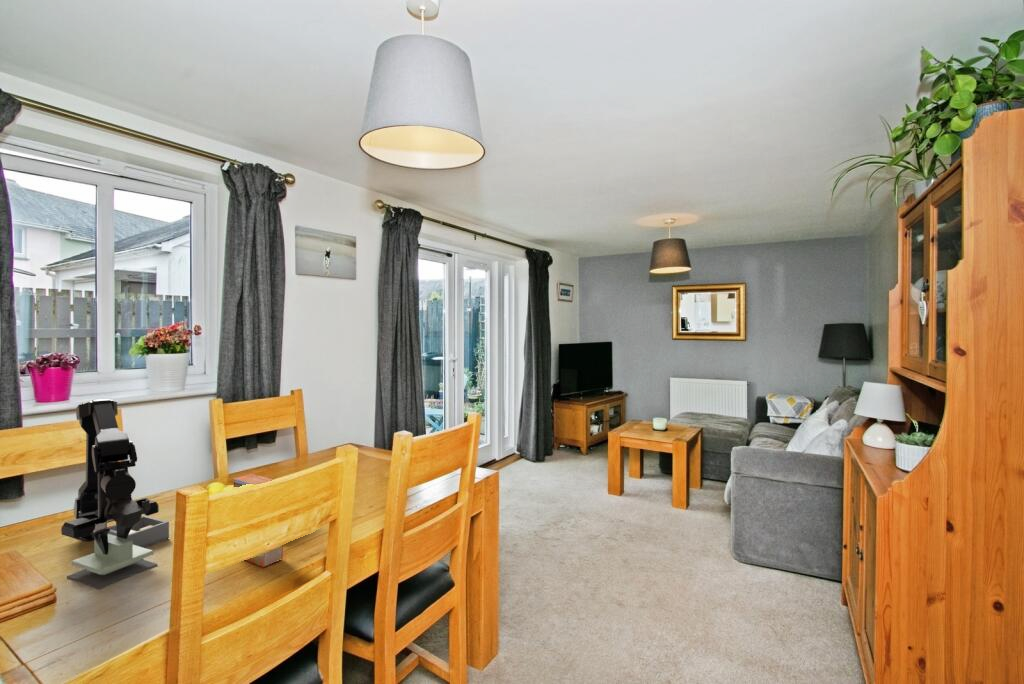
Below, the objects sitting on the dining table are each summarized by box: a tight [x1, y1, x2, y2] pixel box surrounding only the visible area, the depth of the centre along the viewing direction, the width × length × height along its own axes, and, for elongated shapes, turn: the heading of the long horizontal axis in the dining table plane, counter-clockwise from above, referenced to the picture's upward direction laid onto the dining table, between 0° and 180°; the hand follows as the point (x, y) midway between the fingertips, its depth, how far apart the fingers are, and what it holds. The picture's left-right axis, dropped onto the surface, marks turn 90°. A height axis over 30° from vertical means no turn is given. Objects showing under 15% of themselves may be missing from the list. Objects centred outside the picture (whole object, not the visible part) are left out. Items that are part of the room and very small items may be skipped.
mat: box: [66, 559, 158, 590], centre depth 125 cm, size 13×13×1 cm
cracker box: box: [233, 473, 284, 568], centre depth 134 cm, size 14×6×21 cm, turn 58°
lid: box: [71, 534, 154, 575], centre depth 125 cm, size 12×12×6 cm
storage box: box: [106, 514, 170, 549], centre depth 141 cm, size 11×11×5 cm
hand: (113, 551), depth 125 cm, fingers closed on lid, 3 cm apart
